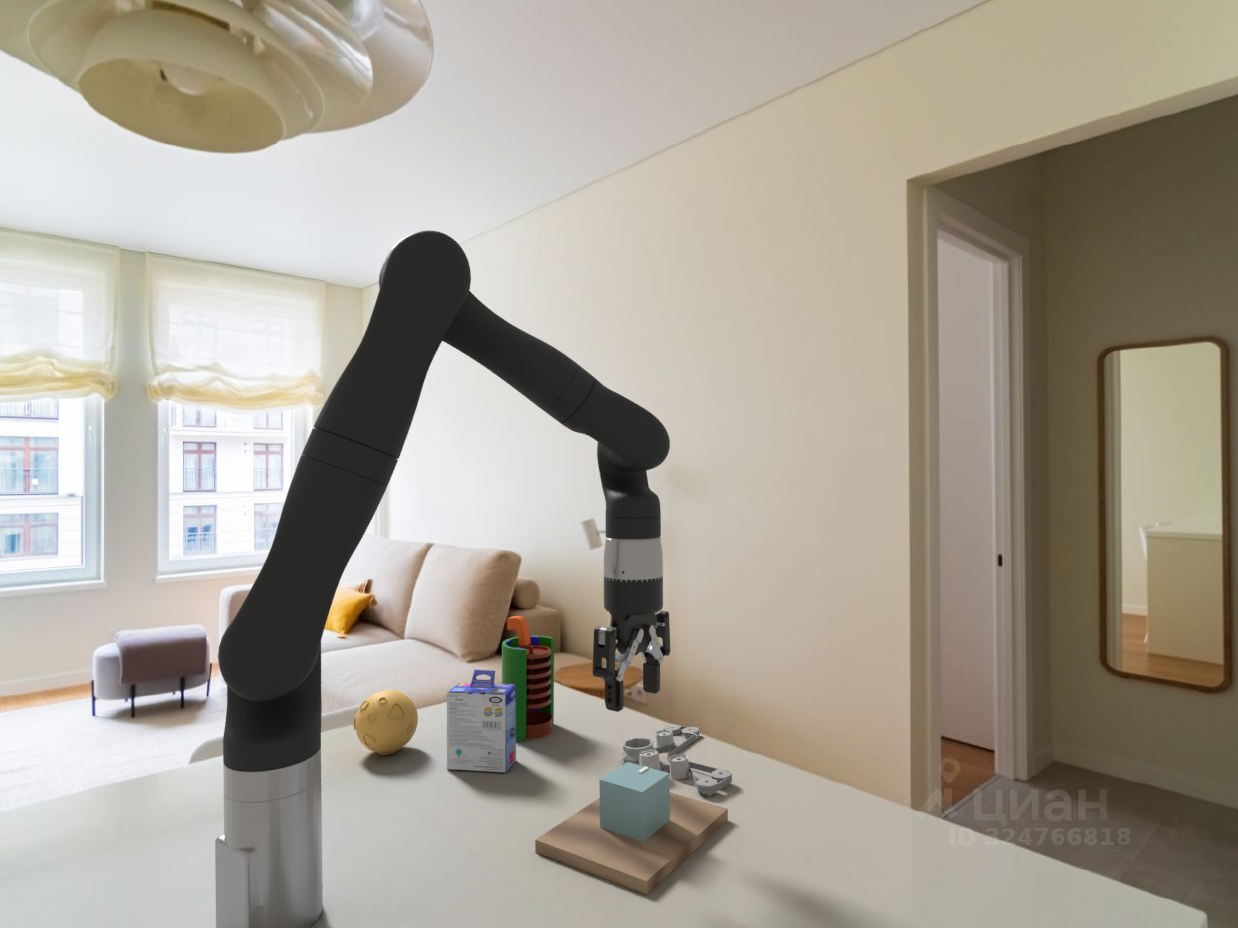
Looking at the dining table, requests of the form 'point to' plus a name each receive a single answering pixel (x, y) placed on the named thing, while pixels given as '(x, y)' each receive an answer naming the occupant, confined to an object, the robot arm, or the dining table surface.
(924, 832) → the dining table surface
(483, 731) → the ink cartridge box
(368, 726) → the stress ball
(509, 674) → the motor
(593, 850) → the mounting plate
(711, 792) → the pulley system
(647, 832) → the mini blue cabinet
